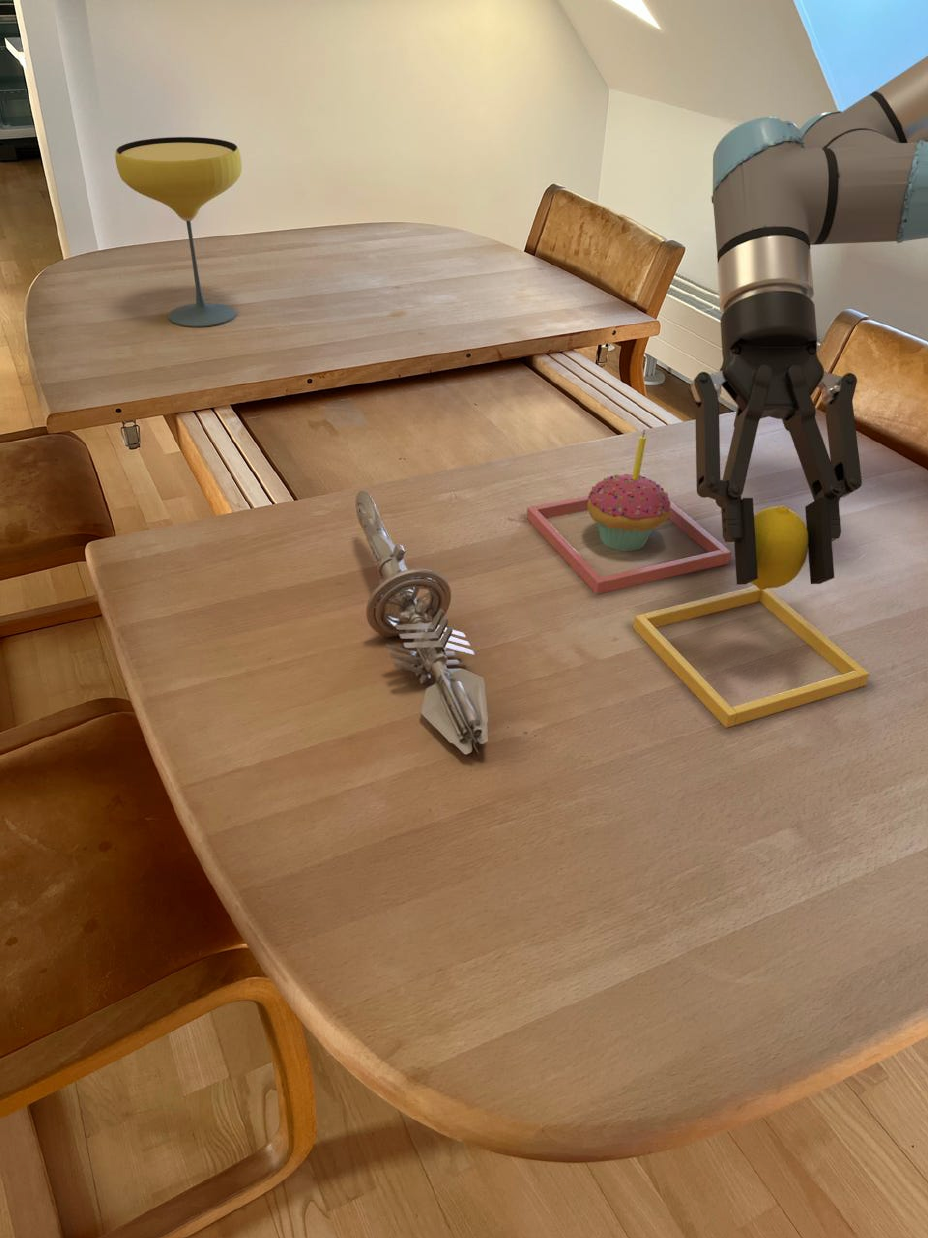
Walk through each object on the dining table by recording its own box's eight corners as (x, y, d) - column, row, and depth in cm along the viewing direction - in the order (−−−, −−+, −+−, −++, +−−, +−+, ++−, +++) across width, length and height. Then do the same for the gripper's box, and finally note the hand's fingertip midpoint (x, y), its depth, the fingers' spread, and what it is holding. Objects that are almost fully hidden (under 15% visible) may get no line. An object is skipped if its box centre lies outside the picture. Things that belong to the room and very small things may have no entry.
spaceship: (406, 469, 96) (334, 453, 91) (541, 714, 72) (453, 708, 68) (377, 531, 100) (308, 519, 96) (497, 783, 76) (411, 781, 72)
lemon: (722, 596, 79) (741, 513, 74) (736, 564, 83) (755, 484, 78) (788, 614, 77) (813, 531, 72) (799, 580, 81) (823, 499, 76)
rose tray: (647, 498, 108) (649, 483, 107) (727, 568, 97) (731, 552, 96) (526, 523, 103) (527, 507, 102) (595, 599, 92) (598, 582, 90)
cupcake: (596, 513, 104) (609, 412, 97) (671, 530, 102) (690, 428, 94) (573, 551, 98) (585, 446, 90) (653, 570, 95) (672, 464, 88)
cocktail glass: (268, 298, 161) (251, 138, 146) (245, 337, 147) (223, 163, 131) (163, 295, 161) (135, 134, 146) (130, 333, 147) (95, 159, 132)
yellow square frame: (759, 600, 92) (763, 583, 91) (863, 691, 82) (869, 673, 80) (631, 632, 87) (634, 615, 86) (724, 733, 77) (729, 715, 76)
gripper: (852, 329, 82) (874, 588, 79) (646, 327, 81) (658, 590, 78) (896, 287, 75) (921, 571, 72) (669, 284, 74) (684, 573, 71)
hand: (784, 580), depth 75 cm, fingers closed on lemon, 5 cm apart
